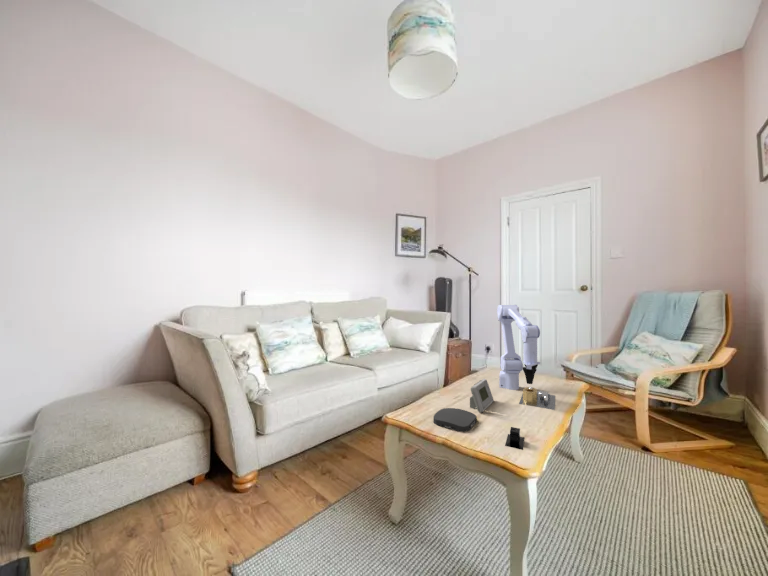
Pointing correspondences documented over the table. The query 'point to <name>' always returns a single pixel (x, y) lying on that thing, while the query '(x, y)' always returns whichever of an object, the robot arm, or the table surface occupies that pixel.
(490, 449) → the table surface
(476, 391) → the digital clock
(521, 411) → the table surface
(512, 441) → the block on black plate
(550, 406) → the plate
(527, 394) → the brass octagonal sleeve
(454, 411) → the media streaming box
